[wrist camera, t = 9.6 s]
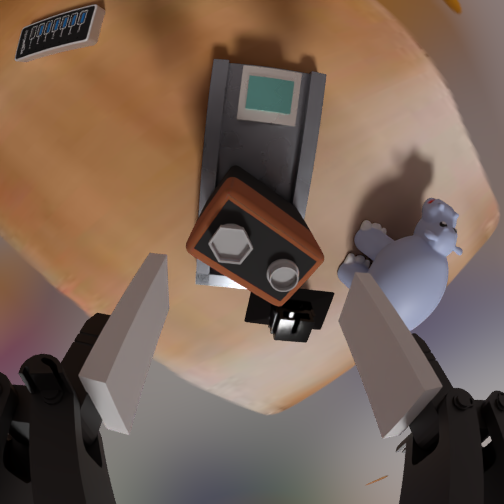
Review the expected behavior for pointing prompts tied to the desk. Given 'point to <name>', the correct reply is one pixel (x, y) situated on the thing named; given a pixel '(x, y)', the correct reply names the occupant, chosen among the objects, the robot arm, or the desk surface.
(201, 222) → the battery
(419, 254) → the hippopotamus toy
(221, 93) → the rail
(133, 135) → the desk surface
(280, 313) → the black angular piece
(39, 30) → the multiport hub
